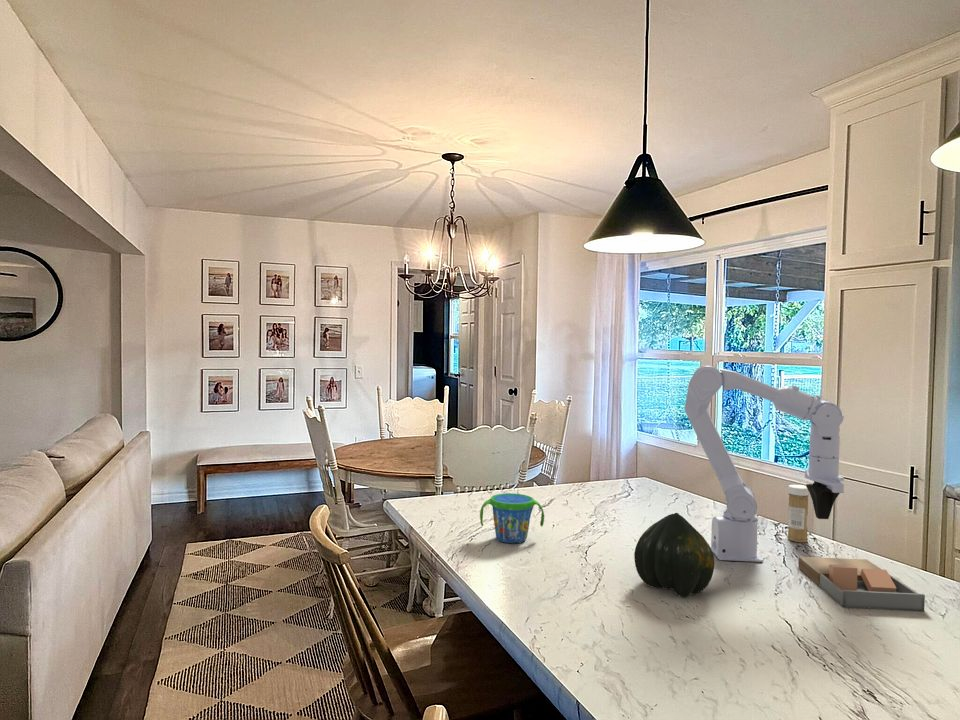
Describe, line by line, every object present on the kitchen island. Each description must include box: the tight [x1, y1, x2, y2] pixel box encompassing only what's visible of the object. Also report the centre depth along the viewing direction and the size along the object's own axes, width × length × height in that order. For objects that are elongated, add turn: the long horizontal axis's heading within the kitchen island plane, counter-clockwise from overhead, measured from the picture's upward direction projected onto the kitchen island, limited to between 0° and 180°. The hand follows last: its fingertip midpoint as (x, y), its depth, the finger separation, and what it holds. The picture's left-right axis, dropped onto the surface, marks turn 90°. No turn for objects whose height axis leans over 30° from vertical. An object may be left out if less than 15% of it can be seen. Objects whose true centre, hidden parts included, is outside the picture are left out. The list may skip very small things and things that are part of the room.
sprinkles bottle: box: [787, 484, 810, 544], centre depth 155 cm, size 5×5×14 cm
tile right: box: [860, 568, 897, 593], centre depth 123 cm, size 4×4×2 cm
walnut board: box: [798, 556, 893, 586], centre depth 131 cm, size 14×10×2 cm
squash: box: [633, 512, 715, 598], centre depth 124 cm, size 14×15×15 cm
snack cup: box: [479, 492, 545, 544], centre depth 153 cm, size 16×10×10 cm
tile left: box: [829, 564, 858, 591], centre depth 124 cm, size 4×4×2 cm
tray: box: [819, 574, 926, 612], centre depth 120 cm, size 14×10×3 cm
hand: (822, 518), depth 138 cm, fingers closed
